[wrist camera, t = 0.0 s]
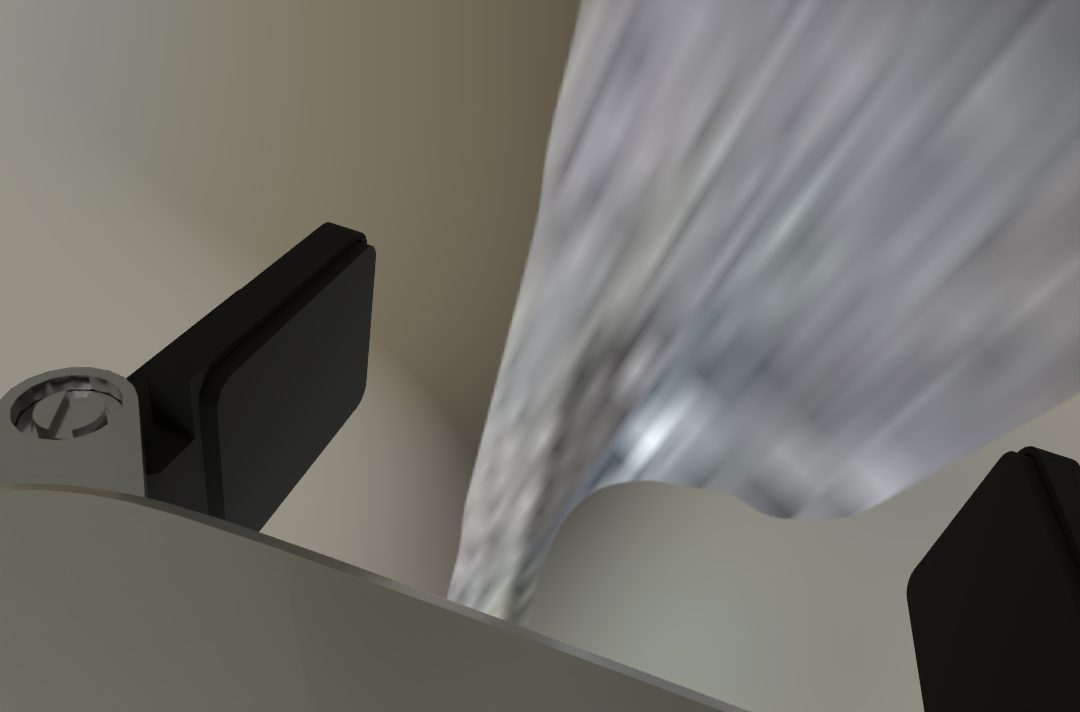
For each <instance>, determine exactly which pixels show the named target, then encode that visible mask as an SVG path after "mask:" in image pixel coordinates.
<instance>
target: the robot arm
mask: <svg viewBox="0 0 1080 712" xmlns="http://www.w3.org/2000/svg"><path fill="white" fill-rule="evenodd" d="M375 261H376V252H375V248H374V247H373V246H371V245H367V240H366V236H365V235H364V234H363V233H361V232H358V231H355V230H352V229H349V228H346V227H342V226H339V225H336V224H333V223H329V222H327V223H325V224H323V225H321V226H320V227H319V228H317V229H316V230H315V231H314V232H313V233H311V234H310V235H309V236H307V237H306V238H305V239H304V240H302V241H301V242H300V243H299V244H297V245H296V246H295V247H294V248H292V249H291V250H290V251H289V252H287V253H286V254H285V255H284V256H282V257H281V258H280V259H278V260H277V261H276V262H275V263H273V264H272V265H271V266H269V267H268V268H267V269H266V270H264V271H263V272H262V273H261V274H259V275H258V276H257V277H256V278H254V279H253V280H252V281H250V282H249V283H248V284H247V285H245V286H244V287H243V288H242V289H240V290H238V291H236V292H235V293H234V294H233V295H231V296H230V297H229V298H228V299H226V300H225V301H224V302H223V303H221V304H220V305H219V306H218V307H216V308H215V309H214V310H212V311H211V312H210V313H209V314H207V315H206V316H205V317H203V318H202V319H201V320H200V321H198V322H197V323H196V324H195V325H193V326H192V327H191V328H190V329H188V330H187V331H186V332H184V333H183V334H182V335H181V336H179V337H178V338H177V339H176V340H174V341H173V342H172V343H170V344H169V345H168V346H167V347H165V348H164V349H163V350H162V351H160V352H159V353H158V354H157V355H155V356H154V357H153V358H152V359H150V360H149V361H148V362H146V363H145V364H144V365H143V366H141V367H140V368H139V369H137V370H136V371H135V372H134V373H132V374H131V375H130V376H129V377H127V378H124V377H123V376H120V375H118V374H116V373H114V372H111V371H109V370H103V369H97V368H92V367H75V368H74V367H70V368H64V369H58V370H53V371H48V372H45V373H42V374H40V375H37V376H34V377H31V378H28V379H26V380H25V381H23V382H21V383H20V384H18V385H16V386H15V387H13V388H11V389H10V390H9V391H8V392H7V393H6V394H5V395H4V396H3V397H2V399H1V400H0V712H750V711H747V710H745V709H742V708H740V707H737V706H734V705H731V704H729V703H726V702H723V701H721V700H718V699H715V698H713V697H710V696H707V695H704V694H702V693H699V692H696V691H694V690H691V689H688V688H686V687H683V686H680V685H678V684H675V683H672V682H669V681H666V680H664V679H661V678H659V677H656V676H653V675H651V674H648V673H645V672H643V671H640V670H637V669H635V668H631V667H629V666H626V665H624V664H621V663H618V662H615V661H613V660H610V659H607V658H605V657H602V656H599V655H597V654H594V653H591V652H589V651H586V650H583V649H580V648H578V647H575V646H572V645H570V644H567V643H564V642H562V641H559V640H556V639H553V638H550V637H548V636H545V635H543V634H540V633H537V632H535V631H532V630H529V629H526V628H524V627H521V626H518V625H516V624H513V623H510V622H507V621H505V620H502V619H499V618H496V617H494V616H491V615H488V614H485V613H483V612H480V611H477V610H475V609H472V608H469V607H466V606H464V605H461V604H458V603H455V602H453V601H450V600H447V599H444V598H442V597H439V596H436V595H433V594H431V593H428V592H425V591H422V590H419V589H417V588H414V587H411V586H408V585H406V584H403V583H400V582H397V581H395V580H392V579H389V578H387V577H384V576H381V575H378V574H375V573H373V572H370V571H367V570H364V569H362V568H359V567H357V566H354V565H351V564H348V563H346V562H343V561H340V560H337V559H335V558H332V557H329V556H326V555H323V554H320V553H317V552H314V551H312V550H309V549H306V548H303V547H300V546H297V545H294V544H291V543H288V542H286V541H283V540H280V539H277V538H274V537H271V536H268V535H265V534H263V533H260V532H259V531H260V530H261V529H262V527H263V526H264V525H265V524H266V522H267V521H268V520H269V519H270V517H271V516H272V515H273V513H274V512H275V511H276V510H277V508H278V507H279V506H280V505H281V503H282V502H283V501H284V499H285V498H286V497H287V496H288V494H289V493H290V492H291V491H292V489H293V488H294V487H295V485H296V484H297V483H298V482H299V480H300V479H301V478H302V477H303V475H304V474H305V473H306V471H307V470H308V469H309V468H310V466H311V465H312V464H313V462H314V461H315V460H316V459H317V457H318V456H319V455H320V454H321V452H322V451H323V450H324V449H325V447H326V446H327V445H328V443H329V442H330V441H331V440H332V438H333V437H334V436H335V435H336V433H337V432H338V431H339V429H340V428H341V427H342V426H343V424H344V423H345V422H346V420H347V419H348V418H349V417H350V415H351V414H352V413H353V411H354V410H355V409H356V408H357V406H358V405H359V403H360V401H361V399H362V397H363V394H364V391H365V387H366V378H367V366H368V352H369V340H370V339H369V338H370V326H371V314H372V300H373V288H374V287H373V286H374V274H375ZM907 602H908V608H909V615H910V621H911V628H912V634H913V641H914V647H915V654H916V660H917V667H918V673H919V679H920V686H921V692H922V699H923V705H924V712H1080V465H1079V464H1078V463H1077V461H1075V460H1073V459H1070V458H1067V457H1064V456H1060V455H1057V454H1054V453H1051V452H1048V451H1045V450H1042V449H1039V448H1035V447H1032V446H1029V447H1025V448H1023V449H1021V450H1020V451H1019V452H1018V453H1016V452H1013V451H1010V452H1007V453H1005V454H1004V455H1003V456H1002V457H1001V458H1000V459H999V461H998V462H997V463H996V464H995V466H994V467H993V468H992V470H991V471H990V472H989V473H988V475H987V476H986V477H985V479H984V480H983V481H982V482H981V484H980V485H979V486H978V488H977V489H976V490H975V492H974V493H973V494H972V495H971V497H970V498H969V499H968V501H967V502H966V503H965V505H964V506H963V507H962V508H961V510H960V511H959V513H958V514H957V515H956V516H955V517H954V519H953V520H952V521H951V523H950V524H949V525H948V527H947V528H946V529H945V530H944V532H943V533H942V534H941V536H940V537H939V538H938V540H937V541H936V542H935V543H934V545H933V546H932V547H931V549H930V550H929V551H928V553H927V554H926V555H925V556H924V558H923V559H922V560H921V562H920V563H919V564H918V565H917V567H916V568H915V569H914V571H913V573H912V574H911V577H910V579H909V582H908V586H907Z"/></svg>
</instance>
